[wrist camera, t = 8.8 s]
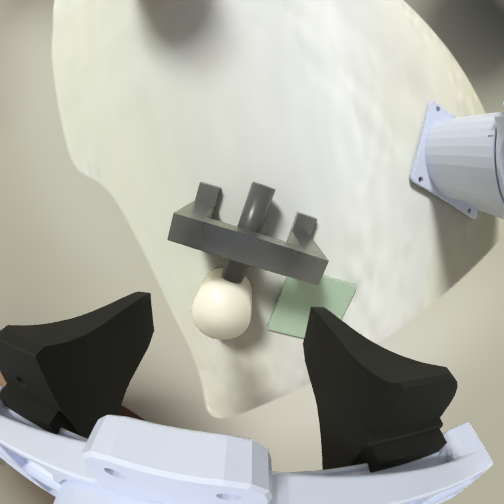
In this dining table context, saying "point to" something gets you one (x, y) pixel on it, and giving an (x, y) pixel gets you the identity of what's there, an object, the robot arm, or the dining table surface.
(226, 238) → the bracket
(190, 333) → the dining table surface
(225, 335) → the plug
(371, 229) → the dining table surface
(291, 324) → the pad
